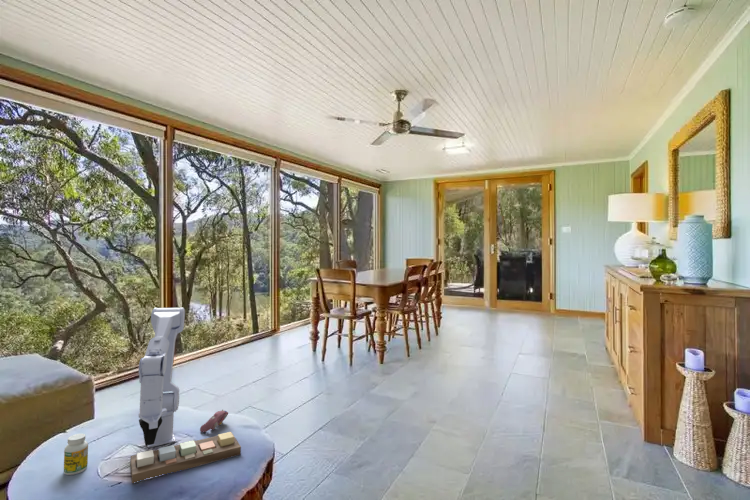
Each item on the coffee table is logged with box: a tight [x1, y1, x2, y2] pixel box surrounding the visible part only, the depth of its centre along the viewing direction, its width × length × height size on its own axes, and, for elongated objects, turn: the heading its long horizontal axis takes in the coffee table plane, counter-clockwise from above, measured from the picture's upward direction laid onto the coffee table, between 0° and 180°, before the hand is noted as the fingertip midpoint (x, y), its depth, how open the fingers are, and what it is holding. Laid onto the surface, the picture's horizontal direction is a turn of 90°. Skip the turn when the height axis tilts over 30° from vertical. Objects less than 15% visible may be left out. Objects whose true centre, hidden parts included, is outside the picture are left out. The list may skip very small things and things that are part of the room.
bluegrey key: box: [158, 444, 176, 462], centre depth 113 cm, size 4×4×3 cm
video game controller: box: [199, 409, 229, 433], centre depth 137 cm, size 10×5×7 cm, turn 169°
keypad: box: [129, 431, 242, 484], centre depth 116 cm, size 11×29×3 cm, turn 125°
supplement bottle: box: [63, 433, 89, 476], centre depth 108 cm, size 5×5×10 cm
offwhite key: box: [136, 449, 154, 468], centre depth 110 cm, size 4×4×3 cm
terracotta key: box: [199, 441, 215, 451], centre depth 119 cm, size 4×4×3 cm
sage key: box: [179, 439, 196, 456], centre depth 116 cm, size 4×4×3 cm
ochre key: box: [217, 431, 235, 447], centre depth 123 cm, size 4×4×3 cm
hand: (149, 443), depth 110 cm, fingers closed
